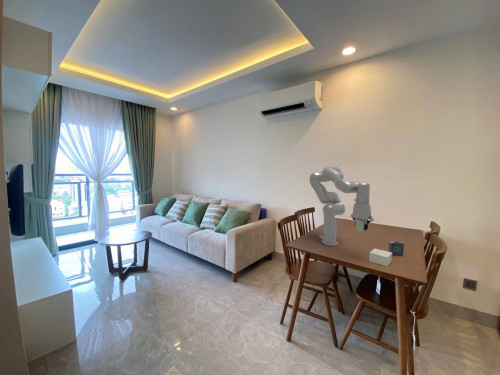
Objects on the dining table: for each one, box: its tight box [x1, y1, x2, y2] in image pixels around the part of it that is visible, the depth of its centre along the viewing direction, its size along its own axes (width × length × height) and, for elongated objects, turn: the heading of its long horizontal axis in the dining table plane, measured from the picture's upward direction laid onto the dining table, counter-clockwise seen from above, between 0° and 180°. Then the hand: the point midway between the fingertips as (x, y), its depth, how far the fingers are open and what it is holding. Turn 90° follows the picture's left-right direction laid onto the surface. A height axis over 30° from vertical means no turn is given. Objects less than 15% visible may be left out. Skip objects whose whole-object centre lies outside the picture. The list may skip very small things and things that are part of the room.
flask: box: [387, 239, 405, 257], centre depth 144 cm, size 9×3×11 cm, turn 83°
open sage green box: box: [354, 219, 367, 232], centre depth 139 cm, size 5×5×8 cm
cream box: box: [368, 248, 393, 267], centre depth 134 cm, size 10×10×6 cm
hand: (361, 228), depth 139 cm, fingers closed on open sage green box, 5 cm apart
